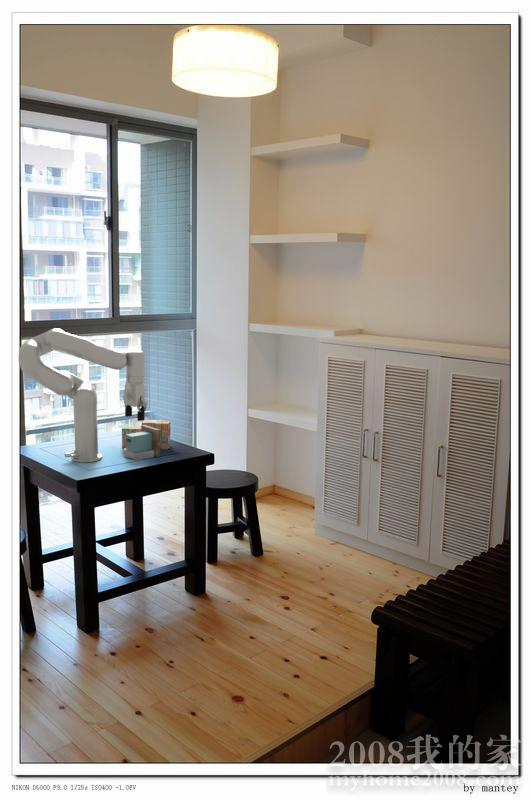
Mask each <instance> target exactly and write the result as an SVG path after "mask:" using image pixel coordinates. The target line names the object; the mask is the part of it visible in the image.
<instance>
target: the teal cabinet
mask: <svg viewBox="0 0 531 800" xmlns="http://www.w3.org/2000/svg"><path fill="white" fill-rule="evenodd" d="M125 449H126V450H127V451H130V452H132V453H133V452H138V451H143V450H148V449H152V433H149V432H146V431H143V432H138V433H132V434H126V448H125Z"/></svg>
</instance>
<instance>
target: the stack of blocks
mask: <svg viewBox="0 0 531 800" xmlns="http://www.w3.org/2000/svg"><path fill="white" fill-rule="evenodd" d="M141 425H148V426H151V427H154V428H157V429H160V450H169V449H170V447H171V420H163V419H144V420H143V421H141ZM141 425H124V426H122V428H121V448H122V449H126V434H132V433H138V432H141ZM168 448H169V449H168Z"/></svg>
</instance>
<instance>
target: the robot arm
mask: <svg viewBox="0 0 531 800" xmlns="http://www.w3.org/2000/svg"><path fill="white" fill-rule="evenodd" d="M19 350H20V352H19V351H18V364H19V367H20V369H21V371H22V372H23V374H24V375H26V376H27V377H28V378H29V379H31V380H32V381H34V382H36V383H38V384H40V385H41V386H43V387H45V388H46V389H48V390H50V391H51V392H53V393H55V394H56V395H58V396H66V397H69V398H70V399H72V401H73V425H74V426H73V427H74V448H72V451H70V452H65V453H64V457H65V458H66V459H67V458H71V460H72V461H73V462H76V463H83V464H84V463H93V462H99V461H100V460H102V458H103V456H102V454H101V453H99V445H98V443H99V441H98V440H99V439H98V437H99V436H98V408H97V407H98V396H97V392H96V388H95V387H94V386H93V385H92V384H91V383H89V382H87V381H86V380H84V379H82V378H80V377H79V376H77V375H75V374H74V373H72V372H70V371H68V370H63V369H62V370H57V369H56V368H54V367H52V366H51V365H49V364H47V363H45V362H44V361H42V360H41V357H42V356H44V355H46V354H48V353H51V352H53V351H56V352H59V353H62V354H65V355H68V356H73V357H76V358H79V359H81V360H84V361H86V362H90V363H94V364H96V365H99V366H101V367H104V368H105V367H106V368H108V369H112V370H119V371H120V370H122V369H123V368H125V367H126V370H125V371H126V373H125V375H126V376H125V384H124V390H123V391H124V394H123V396H122V398H123V404H124V408H125V409H124V417H126V418H128V417H132V416H133V408H137V409H136V410H137V415H136V416H137V422H143V420H145V412H146V410H147V406H148V402H147V400H146V394H145V392H146V391H145V353H144V351H143V350H137V349H135V350H134V349H132V350H125V349H120V348H117V349H110V348H106V347H104V346H101V345H98V344H97V343H95V342H94V341H92V340H90V339H88V338H85V337H82V336H78V335H75V334H71V333H69V332H65V331H64V330H63V329H61V328H56V327H55V328H52V329H49V330H47V331H45V332H43V333H40V334H38V335H35V336H34V337H31V338H29V339H27V340H25V341H24V342H23V343H22V344H21V346H20V348H19Z"/></svg>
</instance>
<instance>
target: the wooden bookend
mask: <svg viewBox="0 0 531 800" xmlns="http://www.w3.org/2000/svg"><path fill="white" fill-rule="evenodd" d="M140 426H141V432H143V431H146V432H149V433H152V449H148V450H143V451H138V452H133V453H132V452H130V451H127V450H126V448H122V450H123V451H122V452H123V453H122V455H123V457H126V458H128V459H131V460H133V459H134V461H140V460H139V459H141V460H145V459H144V458H146V459H150V457H151V458H155V457H154V456H156V458H158V456H159V457H161V449H160V429H157V428H154V427H151V426H148V425H142V424H141V425H140Z"/></svg>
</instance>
